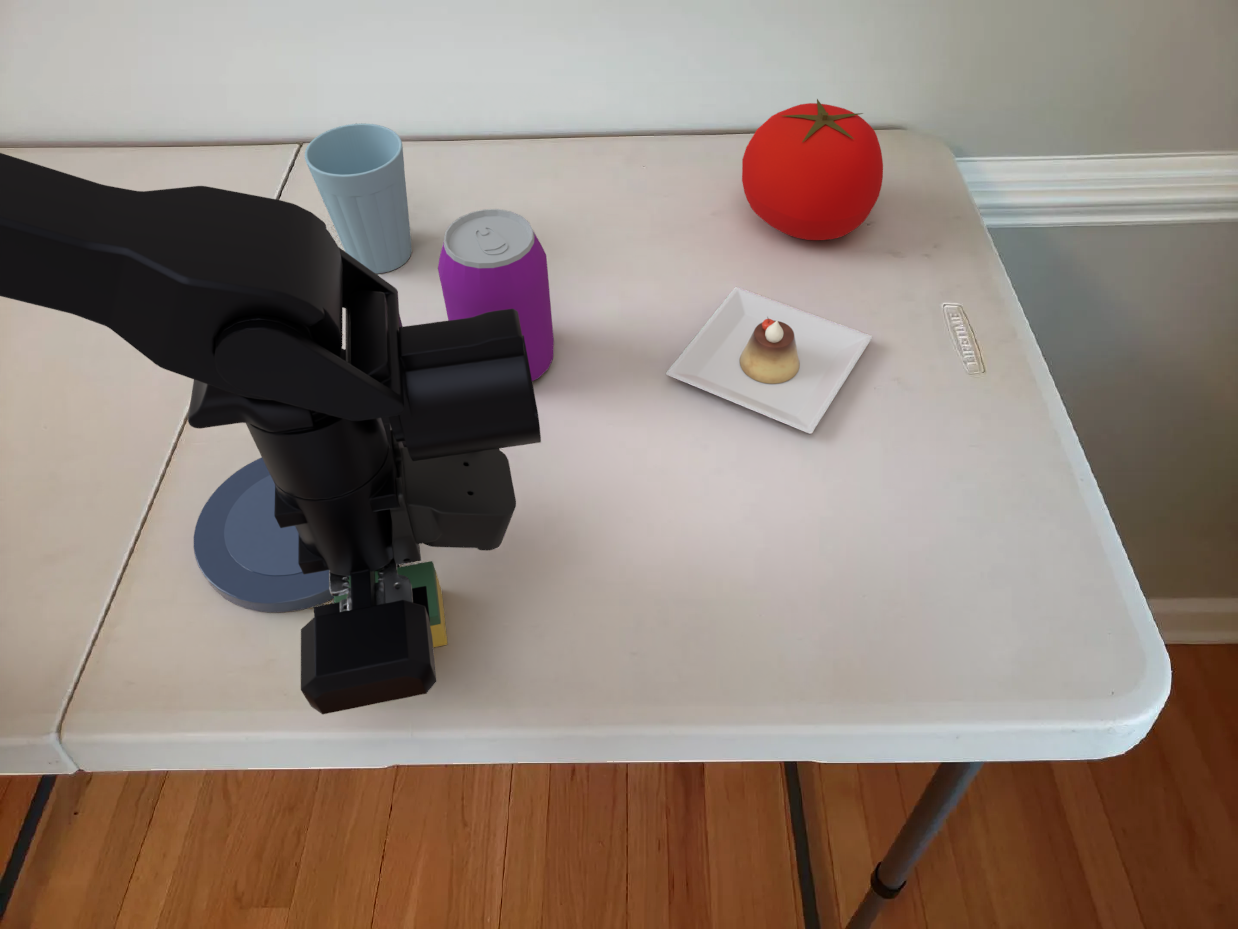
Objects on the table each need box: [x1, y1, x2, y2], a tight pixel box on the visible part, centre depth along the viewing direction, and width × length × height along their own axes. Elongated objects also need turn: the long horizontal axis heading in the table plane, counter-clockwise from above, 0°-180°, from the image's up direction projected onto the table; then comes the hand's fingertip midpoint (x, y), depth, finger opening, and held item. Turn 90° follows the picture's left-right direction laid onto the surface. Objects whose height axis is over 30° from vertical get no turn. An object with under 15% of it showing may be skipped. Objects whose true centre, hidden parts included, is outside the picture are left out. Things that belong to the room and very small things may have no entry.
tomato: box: [741, 98, 884, 241], centre depth 80 cm, size 12×12×10 cm
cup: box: [304, 122, 413, 274], centre depth 77 cm, size 8×8×10 cm
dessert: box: [665, 286, 873, 434], centre depth 70 cm, size 12×12×5 cm
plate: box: [193, 457, 334, 613], centre depth 62 cm, size 13×13×1 cm
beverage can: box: [437, 208, 555, 382], centre depth 68 cm, size 8×8×12 cm
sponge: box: [333, 560, 449, 648], centre depth 56 cm, size 6×4×4 cm, turn 102°
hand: (393, 618), depth 57 cm, fingers open, 4 cm apart
